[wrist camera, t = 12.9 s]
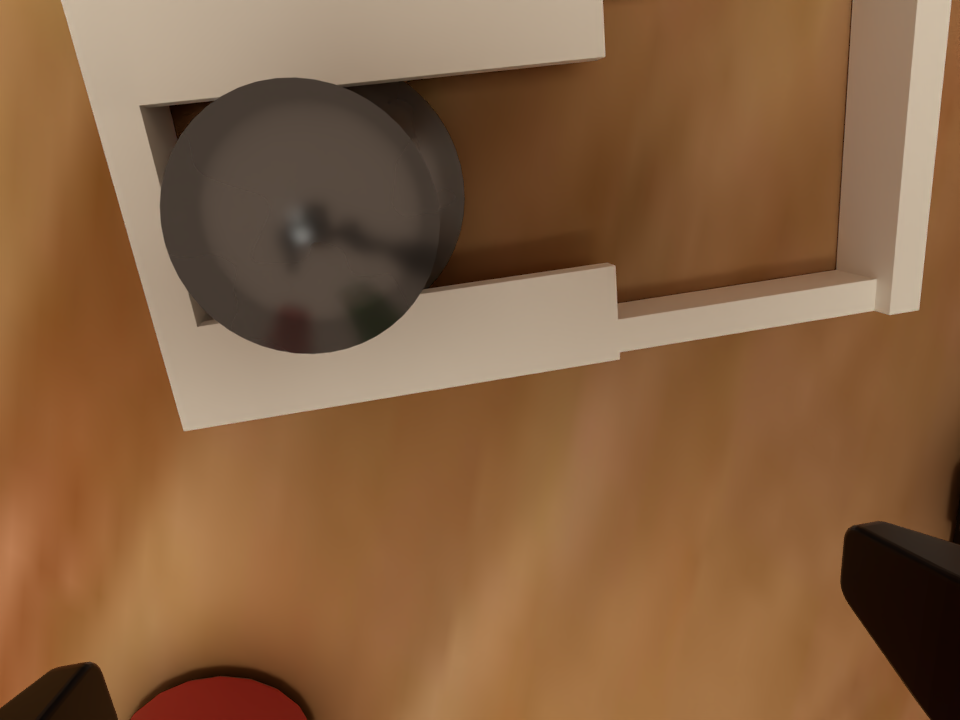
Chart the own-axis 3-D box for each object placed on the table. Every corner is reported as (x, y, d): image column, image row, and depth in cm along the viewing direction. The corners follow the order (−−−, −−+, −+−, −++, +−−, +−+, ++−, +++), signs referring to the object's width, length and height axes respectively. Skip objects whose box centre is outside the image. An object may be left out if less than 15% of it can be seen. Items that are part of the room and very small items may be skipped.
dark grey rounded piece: (442, 48, 17) (511, -67, 9) (473, 299, 19) (552, 403, 11) (175, 74, 16) (-38, -24, 8) (238, 334, 19) (125, 476, 10)
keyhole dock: (888, -66, 18) (961, -99, 16) (861, 294, 21) (918, 309, 19) (100, 1, 16) (53, -27, 13) (206, 399, 19) (183, 431, 17)
